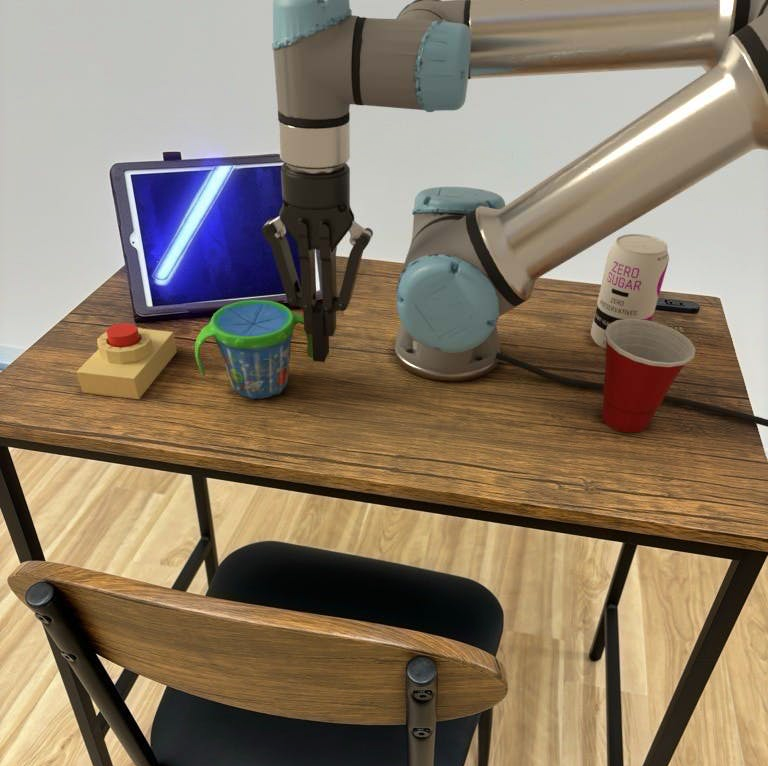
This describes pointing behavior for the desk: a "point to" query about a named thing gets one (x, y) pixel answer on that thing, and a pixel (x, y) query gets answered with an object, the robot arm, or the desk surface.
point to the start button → (123, 335)
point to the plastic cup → (640, 370)
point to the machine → (127, 365)
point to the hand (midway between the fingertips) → (321, 356)
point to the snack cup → (254, 345)
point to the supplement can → (630, 282)
